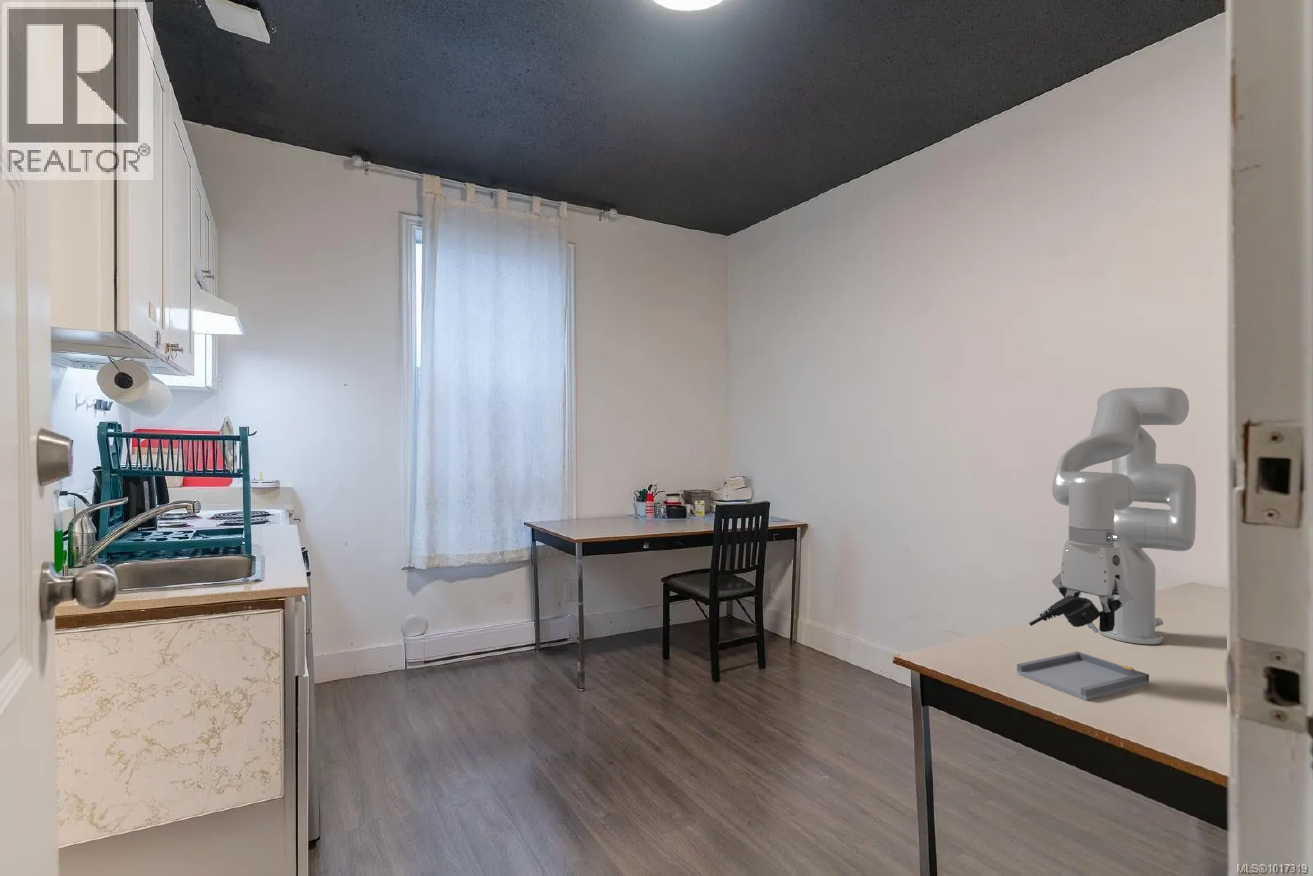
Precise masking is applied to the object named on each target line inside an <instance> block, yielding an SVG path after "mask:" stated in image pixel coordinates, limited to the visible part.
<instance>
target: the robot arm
mask: <svg viewBox="0 0 1313 876" xmlns="http://www.w3.org/2000/svg"><path fill="white" fill-rule="evenodd" d="M1096 406H1097V409H1096V413H1095V417H1094V420H1093V424H1092V428H1091V432H1090V435H1087V436H1086V437H1085V438H1082V439H1081V440H1080V441H1078V442H1077V443H1075V444H1073V445H1072V446H1071V447H1070V448H1068V449H1067V450H1065V452H1064V453H1063V454H1062V455H1061V457H1059V458H1060V459H1059V460H1058V461H1057V462H1058V463H1057V466H1056V469H1055V473H1054V475H1053V478H1052V487H1051V490H1052V491H1051V492H1052V496H1053V498H1054V500H1055V501H1056V502H1057V503H1058V504H1060V505H1062V506H1066V507H1068V540H1066V541H1065V544H1064V547H1063V551H1062V558H1061V563H1060V565H1061V566H1060V573H1058V575H1057V576H1055V577H1054V578H1053V579H1052V582H1051V583H1052V584H1053V585H1054V586H1055V588H1057V589H1058V591H1059V593H1060V594H1061V596H1062V597H1063V598H1065V597H1067V596H1069V595H1070V596H1075V597H1081V595H1082V593H1083V594H1089V595H1091V596H1096V597H1098V598H1099V602H1100V604H1101V607H1102V610H1099V612H1100V616H1099V626H1098V628H1097V629H1098V633H1099V634H1101V635H1102V636H1104V637H1106V638H1109V639H1113V640H1116V641H1120V642H1125V643H1130V644H1139V645H1159V644H1162V643H1163V642H1164V636H1163V635H1162V634H1161V633H1159V632H1158V631H1156V627H1160V626H1163V624H1164V620H1163V619H1162V618H1161V617H1156V573H1157V571H1156V566H1155V563H1154V562H1153V560H1152V559H1151V558H1150V556H1149V555H1148V554H1147V553H1146V551H1144V549H1156V550H1162V551H1173V552H1186V551H1188V550H1190V549H1192V547H1193V546H1194V544H1195V540H1196V521H1197V520H1196V519H1197V518H1196V516H1197V482H1196V477H1195V474H1194V471H1193V470H1192V469H1191V468H1190V467H1189V466H1187V465H1185V464H1178V463H1158V462H1157V456H1156V455H1157V443H1156V441H1155V439H1154V438H1153V437H1152V436H1151V435H1150V433H1148V432H1147V430H1146V429H1144V428H1143V427H1142V426H1178V425H1181V424H1183V423H1184V422H1185V420H1186V419H1187V417H1188V415H1189V411H1190V401H1189V398H1188V395H1187V393H1185V391H1184V390H1183V389H1181V388H1177V387H1171V386H1170V387H1169V386H1150V387H1149V386H1148V387H1123V388H1115V389H1111V390H1109V391H1106V393H1103V394H1101V395H1100V396H1099V397H1098V399H1097V403H1096ZM1110 461H1111V472H1100V471H1082V470H1084V469H1086V468H1089V467H1091V466H1094V465H1098V464H1103V463H1106V462H1110ZM1133 502H1139V503H1154V504H1164V505H1168V506H1169V507H1170V509H1163V508H1162V509H1161V508H1149V507H1140V506H1138V507H1137V506H1131V505H1132V504H1133ZM1067 622H1068V623H1070V622H1069V621H1068V620H1067ZM1070 624H1071V623H1070Z"/></svg>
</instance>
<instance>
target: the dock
mask: <svg viewBox="0 0 1313 876" xmlns="http://www.w3.org/2000/svg"><path fill="white" fill-rule="evenodd" d="M1017 673H1019V674H1021V675H1022V677H1024V678H1027V679H1029V678H1031V679H1030V680H1032V681H1034V682H1037V683H1039V682H1040V684H1042V685H1044V686H1047V687H1050V688H1052V689H1055V690H1058V691H1060V692H1063V693H1065V694H1068V695H1070V696H1073V697H1075V698H1079V699H1081V700H1083V701H1086V702H1087V701H1091V700H1095V699H1099V698H1102V697H1106V696H1109V695H1115V694H1117V693H1122V692H1126V691H1129V690H1134V689H1136V688H1140V687H1141V688H1142V687H1145V686H1148V685H1150V674H1148V673H1145V672H1142V671H1139V670H1137V669H1134V667H1131V666H1128V665H1121V664H1117V663H1114V662H1111V661H1108V660H1105V659H1103V658H1099V657H1095V656H1092V655H1090V654H1087V653H1083V652H1079V651H1073V652H1068V653H1065V654H1064V653H1063V654H1059V655H1054V656H1049V657H1044V658H1040V659H1035V660H1030V661H1027V662H1022V663H1017V664H1016V674H1017ZM1019 674H1018V675H1019ZM1021 675H1020V676H1021Z"/></svg>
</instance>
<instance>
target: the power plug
mask: <svg viewBox="0 0 1313 876" xmlns="http://www.w3.org/2000/svg"><path fill="white" fill-rule="evenodd" d="M1062 615H1063V616H1064V617H1065V618H1066V620H1067V622H1068V621H1069V622H1070V625H1071V626H1072V627H1074V628H1075V627H1076V628H1079V627H1084V626H1087V627H1088V629H1091V630H1092V631H1093V632H1094V633H1096V634H1097V633H1099V628H1097V627H1096V626H1095V624H1094V623H1093V622H1094V621H1096V620H1097V619H1098V618H1100V610H1099V609H1098V608H1097V607H1096V605H1095V604H1094V603H1093V601H1092V600H1091V599H1089V598H1086V597H1081V596H1080V597H1075V596H1070V595H1069V596H1067V597H1065V598H1064V597H1063V598H1061V599H1060V600H1058V601H1056V602H1054V603H1053V604H1052V605H1050V606H1049V607H1047V609H1045V610H1044V611H1042V612H1041V613H1040V614H1039V617H1037V618H1036V619H1034V620H1031V621H1030V622H1028V624H1029V625H1030V626H1031V627H1032V626H1034V625H1036V624H1037V623H1039V622H1041V621H1044V622H1046V621H1048V620H1051V619H1054V618H1056V617H1059V616H1062ZM1069 622H1068V623H1069Z"/></svg>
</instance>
